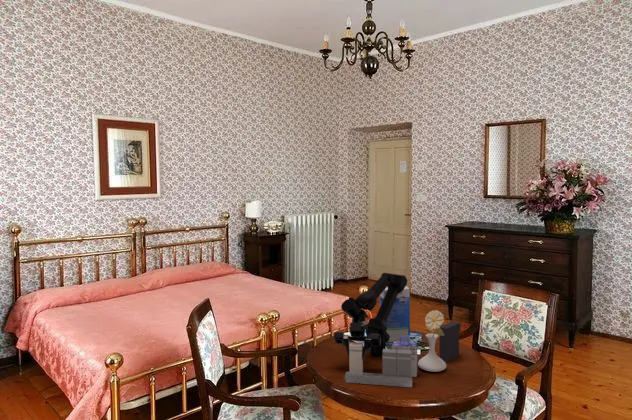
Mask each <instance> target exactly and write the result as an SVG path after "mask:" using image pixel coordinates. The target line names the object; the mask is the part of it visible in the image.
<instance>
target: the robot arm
mask: <svg viewBox="0 0 632 420" xmlns="http://www.w3.org/2000/svg"><path fill="white" fill-rule="evenodd" d="M407 284H408V279H407V277H406V275H404V274H397V273H390V272H382V273H381V276H380V277H379V278H378V279H377V281H376V282H375V283H374V284H373V285H372V286H371V287H370V288H369V289H368V290H366V291H364V292H362V293H360V294H359V295H358V296H357V297H356V298H354V296H353V297H352V296H349V297H348V298H347V299H345V300H344V301H343V302H342V303H341V310H342V311H343V312H344V313H345V314H346V315H347V316H348V317H349V318H352V319H351V322H350V323H349V334H350V335H349V334H345V331H335V332H334V333H333V340H334V342H335V344H338V345H342V346H343V347H345V349H346V353H347V357H348V359H349V345H350V341H352V342H353V341H354V342H363V353H362V360H363V361H364V358H365V357H366V355H367V353H368V351H369V353H370V354H371V357H382V356H383V349H387V344H388V343H387V342H388V341H389V338H390V336H389V334H388V333H387V332H386V330H387V325H386V321H387V318H388V316H389V314H390V311H391V309H392V307H393V304H394V302H395V300H396V297H397V295H398V294H399V293H400V292H402V291H403V290H404V288H405V286H407ZM386 287H388V290H387V293H386V295H385V297H384V299H383V302H382V304H381V306H380V305H379V308H378V310H377V314H376V315H375V316H374V318H373V317H370V318H369V315H368V314H367V312H366V311H373V309H374V308H375V306H376V305H377V303H378V302H377V301H378V298H380V294H381V293H382V292H383V291H384V290H385V289H386ZM365 310H366V311H365ZM367 318H369V320H368V321H367ZM365 335H366V336H365Z"/></svg>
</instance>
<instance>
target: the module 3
mask: <svg viewBox="0 0 632 420" xmlns="http://www.w3.org/2000/svg"><path fill="white" fill-rule="evenodd" d="M397 375H405V376H411V350H398V351H397Z"/></svg>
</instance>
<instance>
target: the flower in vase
mask: <svg viewBox="0 0 632 420" xmlns="http://www.w3.org/2000/svg"><path fill="white" fill-rule="evenodd" d="M444 319H445V318H444V314H443V313H442V312H441V311H439V310H437V309H436V310H431V311H429V312H428V313H427V314H426V316H425V318H424V320H425V321H424V322H425V327H426V329H427V330H428V331H430V332H431V333H426V334H425V337H426V338H427V340H428V341H427V342H428V352H427V354H426V355H424V356H423V357H421V358H420V359H419V360H417V367H419V368H420V369H421V370H424V371H426V372H434V373H436V372H442V371H444V370H445V369H446V368H447V363H445V362H444V361H443V360H442V359H441V358H440V357H439V356H438V355H437V353H436V349H435V348H436V347H435V346H436V342H437V339H438V338H439V337H440V336H445V335H444V333H443V331H442V330H441V329H440V327H441V326H443V323H444V322H445V320H444ZM434 330H435V331H434ZM436 333H437V334H436Z"/></svg>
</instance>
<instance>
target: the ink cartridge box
mask: <svg viewBox="0 0 632 420" xmlns="http://www.w3.org/2000/svg"><path fill="white" fill-rule="evenodd" d="M401 339H407V341H402V340H401ZM391 349H394V350H396V375H397V351H398V350H411V376H412V378H414V377H415V378H417V376H418V342H413V341H412V342H411V341H410V342H409V337H400V342H393V343H391Z"/></svg>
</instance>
